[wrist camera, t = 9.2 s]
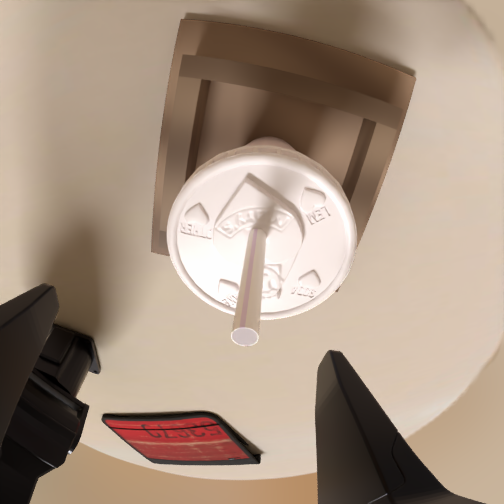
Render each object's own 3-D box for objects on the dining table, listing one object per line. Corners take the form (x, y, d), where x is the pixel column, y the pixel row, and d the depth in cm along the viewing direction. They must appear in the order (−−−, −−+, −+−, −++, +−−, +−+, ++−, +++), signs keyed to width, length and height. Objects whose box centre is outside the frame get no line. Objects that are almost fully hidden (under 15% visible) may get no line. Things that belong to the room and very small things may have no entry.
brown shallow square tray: (336, 288, 23) (342, 314, 21) (153, 248, 23) (139, 271, 20) (413, 77, 15) (434, 80, 12) (183, 20, 14) (167, 11, 12)
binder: (260, 465, 40) (153, 464, 46) (261, 452, 42) (156, 454, 48) (210, 417, 33) (94, 419, 39) (213, 401, 35) (99, 407, 41)
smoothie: (315, 107, 16) (415, 193, 4) (327, 208, 20) (381, 411, 8) (205, 124, 17) (60, 243, 5) (227, 221, 21) (168, 421, 9)
